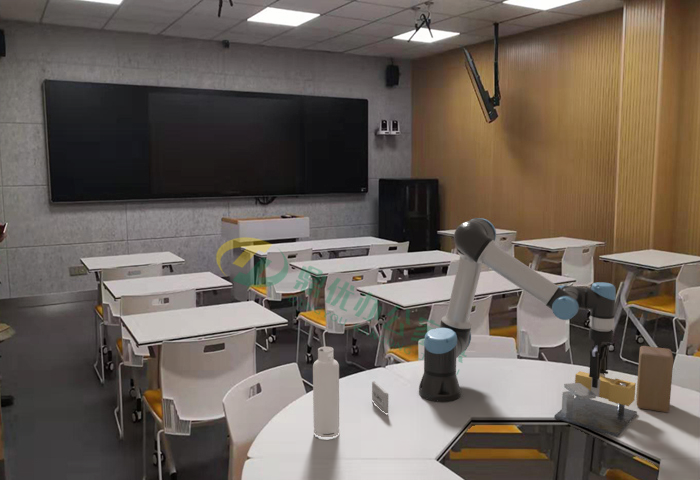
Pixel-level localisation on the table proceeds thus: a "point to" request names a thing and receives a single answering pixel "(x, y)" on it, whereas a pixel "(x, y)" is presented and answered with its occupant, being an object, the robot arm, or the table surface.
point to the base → (599, 416)
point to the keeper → (568, 397)
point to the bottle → (326, 393)
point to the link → (610, 388)
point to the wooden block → (654, 378)
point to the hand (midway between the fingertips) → (597, 393)
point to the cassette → (380, 397)
